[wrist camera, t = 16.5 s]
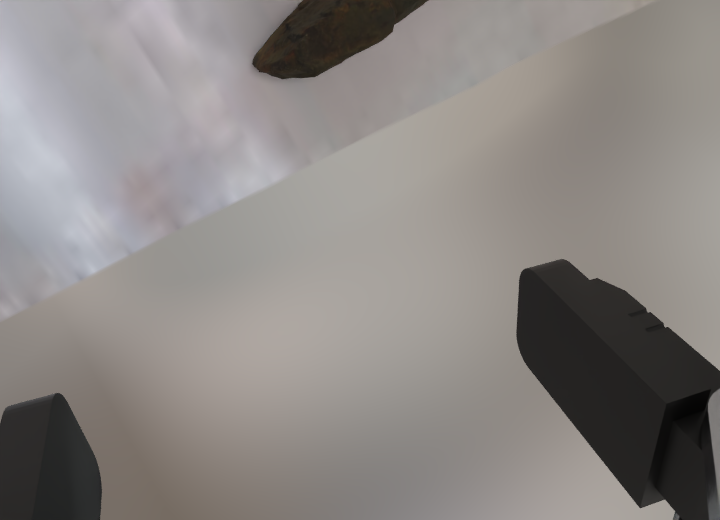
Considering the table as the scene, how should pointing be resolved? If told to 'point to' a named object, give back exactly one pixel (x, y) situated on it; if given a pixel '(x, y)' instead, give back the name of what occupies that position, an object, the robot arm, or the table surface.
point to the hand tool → (328, 34)
